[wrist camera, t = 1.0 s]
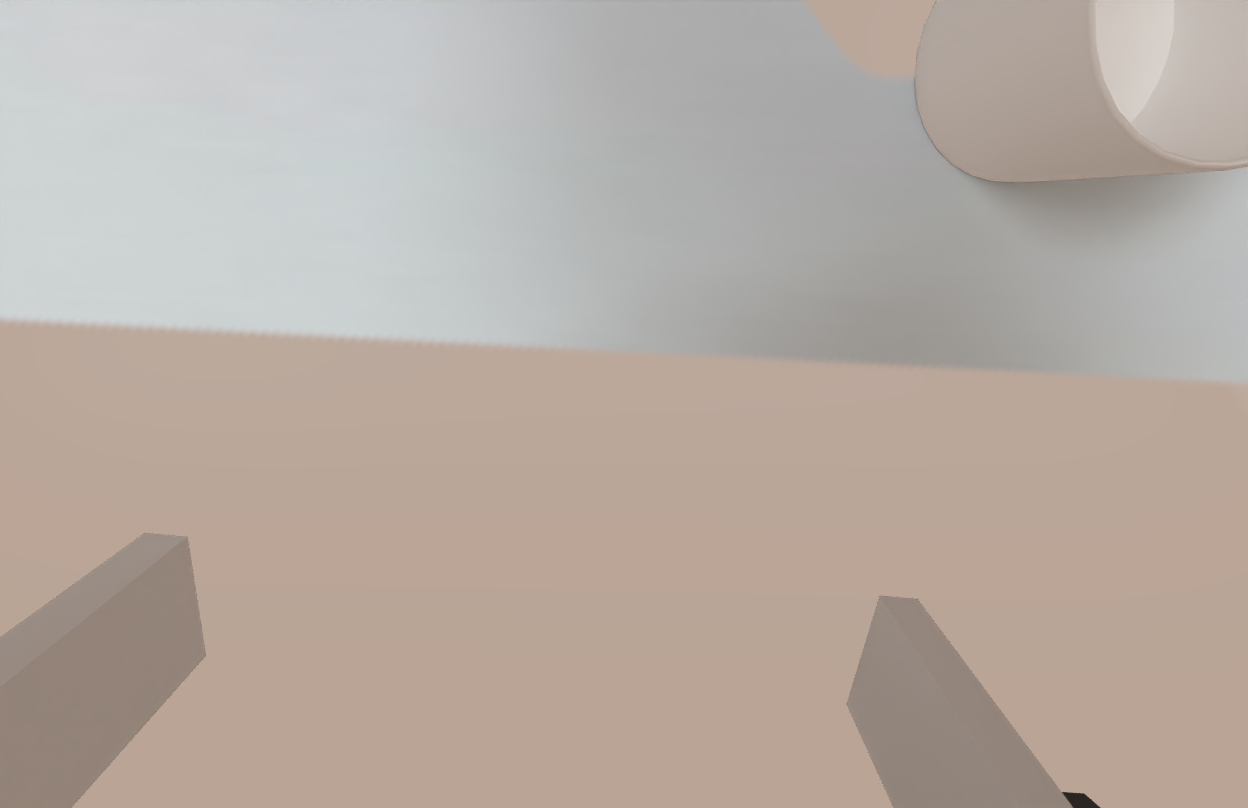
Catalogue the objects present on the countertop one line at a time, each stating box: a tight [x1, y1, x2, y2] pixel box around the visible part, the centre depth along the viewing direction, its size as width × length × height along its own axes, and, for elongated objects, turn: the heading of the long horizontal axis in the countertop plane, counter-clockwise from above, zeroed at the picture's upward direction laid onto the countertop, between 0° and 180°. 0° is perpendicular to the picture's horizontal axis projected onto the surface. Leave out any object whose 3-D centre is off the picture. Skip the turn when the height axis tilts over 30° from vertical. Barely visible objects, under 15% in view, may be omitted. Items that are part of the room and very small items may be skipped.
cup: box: [915, 0, 1248, 182], centre depth 24 cm, size 12×12×12 cm
